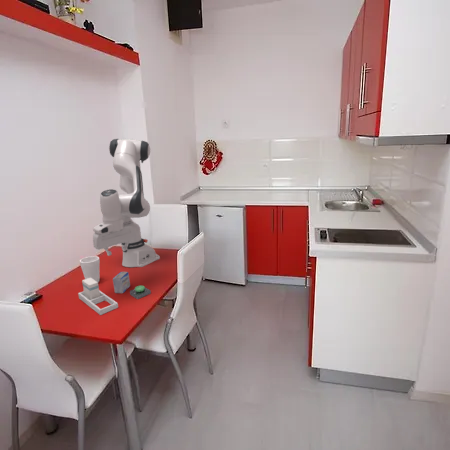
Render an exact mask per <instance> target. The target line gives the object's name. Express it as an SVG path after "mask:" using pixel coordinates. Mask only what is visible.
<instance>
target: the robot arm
mask: <svg viewBox="0 0 450 450" xmlns="http://www.w3.org/2000/svg"><path fill="white" fill-rule="evenodd" d="M108 150H109V154H110V156H111V157H112V158H113V159H112V160H113V161H112V166H113V168H114V170H115V172H116V173H118V175H120V177H119V188H120V189H121V190H122V191H123V192H125V193H118V190H117V189H114V188H113V189H106V190H103V191H102V192H100V194H99V204H100V212H101V213H102V222H100V223H99V224H97V225H95V226H94V227H92V230H93V232H94V233H93V235H92V243H93V244H92V245H93V248H94V249H96V250H104V251H105V252H106V254H107V256H108V257H110V256H112V255H113V254H112V251H111V250H109V248H110V247H113V246H117V245H120V244H121V250H122V263H121V265H122V266H123V267H126V268H136V267H137V268H142V267H145V266H147V265H149V264H151V263H154V262H156V261H158V260H160V259H161V257H160V255H159V254H157V253H156V250H155V249H154V248H153V247H152V246H149V245H148V244H147V243H148V241H149V240H148V239H146V238H142V231H141V227H140V225H139V224H137V223H136V222H135V221H133V220H132V218H137V219H138V218H139V219H140V218H144V217H147V216H148V215H149V214H150V212H151V211H150V210H151V206H150V203H149V201H148V200H147V199H146V198H145V196H144V195H145V194H144V186H143V185H144V183H143V173H142V170H141V164H143V163H144V162H145V161H147V159H149V158H150V157H149V156H150V154H151V147H150V143H149V142H148V141H145V140H138V139H133V138H130V139H129V138H127V139H126V138H125V139H124V138H123V139H122V138H121V139H120V138H114V139H112V140H111V141H110V143H109V145H108Z"/></svg>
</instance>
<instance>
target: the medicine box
mask: <svg viewBox="0 0 450 450" xmlns="http://www.w3.org/2000/svg"><path fill="white" fill-rule="evenodd" d="M130 281H131V280H130V275H129V272H128V271H120V272H118V273H117V275H115V276H114V277H113V278H112V283H113V289H114V293H115V294H123V293H125V292H126V291H127V290H128V289H129V288H130V287H131V282H130Z"/></svg>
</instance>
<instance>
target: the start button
mask: <svg viewBox="0 0 450 450" xmlns="http://www.w3.org/2000/svg"><path fill="white" fill-rule="evenodd" d="M145 288H146V287H145V286H144V285H141V284H140V285H137V286H135V287H134V289H135V291H136V292H139V293H140V292H142V291H144V290H145Z"/></svg>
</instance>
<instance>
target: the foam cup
mask: <svg viewBox="0 0 450 450" xmlns="http://www.w3.org/2000/svg"><path fill="white" fill-rule="evenodd" d="M100 264H101V263H100V257H99V256H97V255H92V256H91V255H90V256H86V257H85V256H84V257H83V258H81V259H79V265H80V267H81V271H82V273H83V277H84V280H85V279H88V278H92V279H94V280H95V281H97V282H98V283H99V282H100V276H101V275H100V273H101V272H100Z"/></svg>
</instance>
